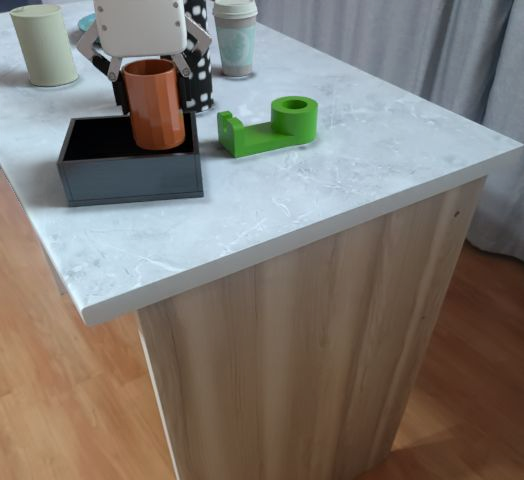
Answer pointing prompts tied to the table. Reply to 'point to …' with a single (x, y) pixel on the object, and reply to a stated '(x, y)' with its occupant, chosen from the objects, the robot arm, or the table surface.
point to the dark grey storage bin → (126, 164)
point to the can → (44, 44)
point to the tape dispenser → (270, 127)
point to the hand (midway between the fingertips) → (155, 107)
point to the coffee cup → (235, 34)
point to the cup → (154, 103)
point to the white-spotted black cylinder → (202, 72)
